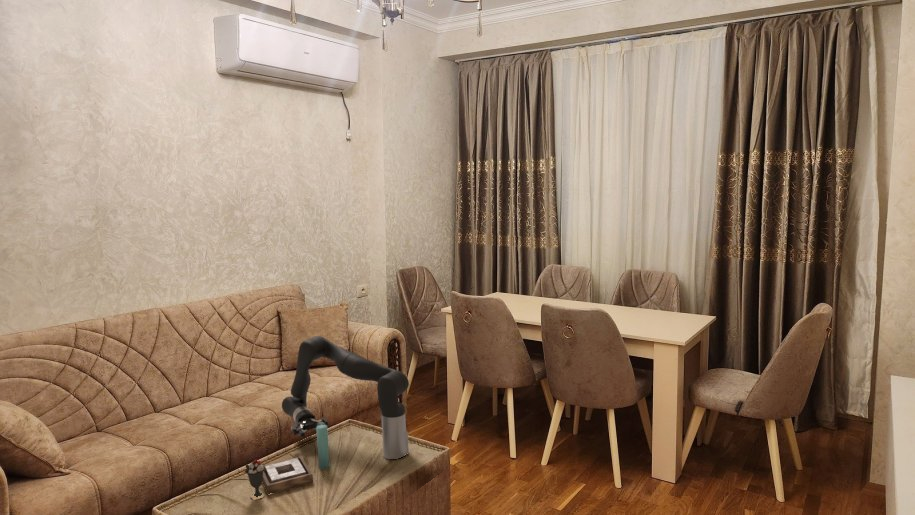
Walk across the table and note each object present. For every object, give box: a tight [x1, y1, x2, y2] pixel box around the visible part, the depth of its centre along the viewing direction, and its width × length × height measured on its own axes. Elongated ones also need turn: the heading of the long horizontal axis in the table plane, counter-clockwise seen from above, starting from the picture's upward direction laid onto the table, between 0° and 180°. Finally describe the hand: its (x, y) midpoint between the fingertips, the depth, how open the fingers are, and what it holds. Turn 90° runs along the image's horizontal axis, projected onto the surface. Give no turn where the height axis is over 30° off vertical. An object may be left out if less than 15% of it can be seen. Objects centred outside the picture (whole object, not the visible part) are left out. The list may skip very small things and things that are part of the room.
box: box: [262, 455, 314, 495], centre depth 230 cm, size 16×16×4 cm
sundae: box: [244, 454, 265, 497], centre depth 218 cm, size 7×7×15 cm
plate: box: [265, 457, 306, 484], centre depth 230 cm, size 12×12×3 cm
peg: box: [315, 425, 330, 470], centre depth 237 cm, size 4×4×16 cm
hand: (314, 432), depth 247 cm, fingers open, 8 cm apart
